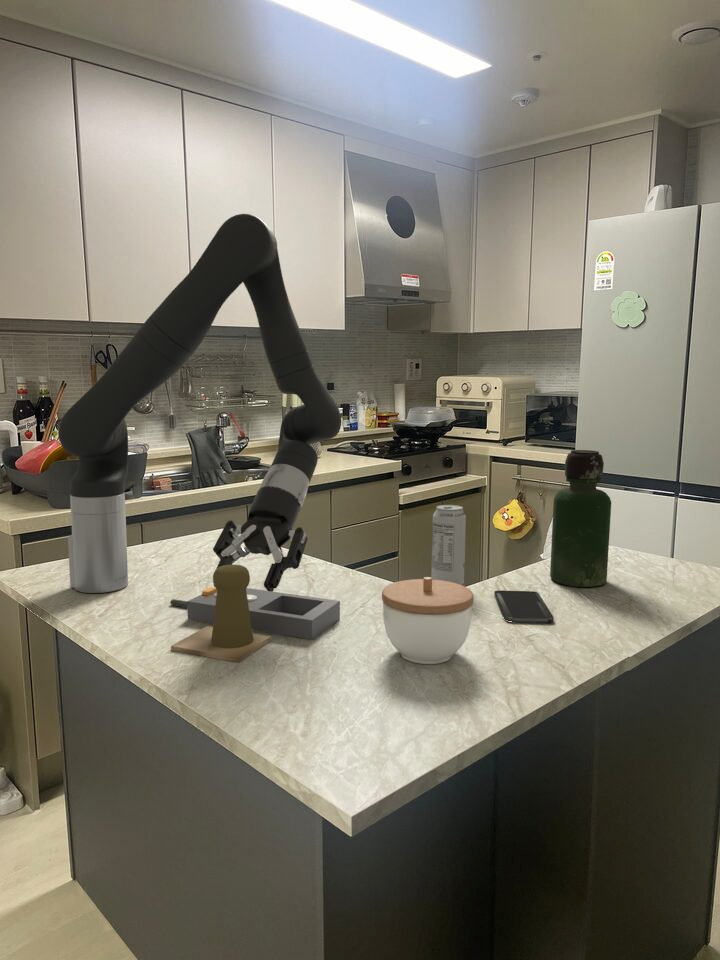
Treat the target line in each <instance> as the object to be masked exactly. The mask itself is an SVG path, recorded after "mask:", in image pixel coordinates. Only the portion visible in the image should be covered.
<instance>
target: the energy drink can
mask: <svg viewBox="0 0 720 960" xmlns="http://www.w3.org/2000/svg"><path fill="white" fill-rule="evenodd" d="M466 524H467V516H466V514H465V511H464V507H463V506H461V505H456V504H441V505H436V509H435V511H434V513H433V514H432V532H431V533H432V537H431V538H432V539H431V540H432V541H431V572H430V573H431V576H430V577H431V578H432V580H442V581H448V582H453V583H456V584H460V585H462V586H463V584H464V583H465V560H466V558H465V557H466Z"/></svg>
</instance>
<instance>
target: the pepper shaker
mask: <svg viewBox="0 0 720 960" xmlns="http://www.w3.org/2000/svg"><path fill="white" fill-rule="evenodd" d="M216 568H217V567H216ZM216 568H215V570H214V572H213V574H212V583H213V586H214V588H216V589H217V595H216V604H215V613H214V621H213V624H212V626H213V630H212V639H211V643H212V644H213V645H214V646H217V647H220V648H239V647H244V646H246V645H249V644H250V643H252V642H253V640H254V639H253V633H254V632H253V630H252V626H251V619H250V612H249V606H248V599H247V592H246V588H248V587H249V585H250V581H251V579H250V578H251V577H250V572H249V570H248V568H247V567H246V566H244V565H241V564H233V565H224V566H220V567H218V568H217V569H216Z"/></svg>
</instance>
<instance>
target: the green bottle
mask: <svg viewBox="0 0 720 960" xmlns="http://www.w3.org/2000/svg"><path fill="white" fill-rule="evenodd" d="M566 455H567V456H566V458H565V461H564V476H565V477H566V478H565V481H566V482H568V483H569V487H566V488H562V489H560V490H559V491H558V492H556V494H555V495H554V498H553V503H552V504H553V506H552V507H553V508H552V509H553V510H552V523H551V524H552V527H551V528H552V529H551V549H550V551H551V552H550V565H549V566H550V569H549V577H550V578H551V579H552V580H553V581H554V582H555V583H559V584H561V585H565V586H569V587H575V588H576V587H577V588H593V587H600V586H602V585H605V584H606V583H607V581H608V563H609V549H610V533H611V515H612V514H611V512H612V500H611V497H610V496H609V495H608V494H607V492H605V491H604V490H602V489H598V488H597V486H598V484H600V483H601V481H602V480H601V479H602V478H603V476H604V475H603V473H604V466H605V465H604V464H605V463H604V458H603V455H602V454H600V451H598V450H587V449H575V450H573V449H572V450H570V452H569V453H568V454H566Z"/></svg>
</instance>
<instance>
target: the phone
mask: <svg viewBox="0 0 720 960" xmlns="http://www.w3.org/2000/svg"><path fill="white" fill-rule="evenodd" d="M493 597H494V599H495V602H496V604H497V606H498V608H499V610H500V614H501V616H502V618H503V617H504V618H503V620H504V619H505V620H508V621H512V622H515V623H514V624H533V625H534V624H535V625H536V624H539V625H550V624H554V620H555V619H554V617H555V616H554V615H553V614H552V611H550V609H549V608H548V606H547V604H546V603H545V601H544V600H543V598H542V597H541V594H540V593H539V592H537V591H534V590H532V591H531V590H495V591H494V595H493ZM505 620H504V621H505Z"/></svg>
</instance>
